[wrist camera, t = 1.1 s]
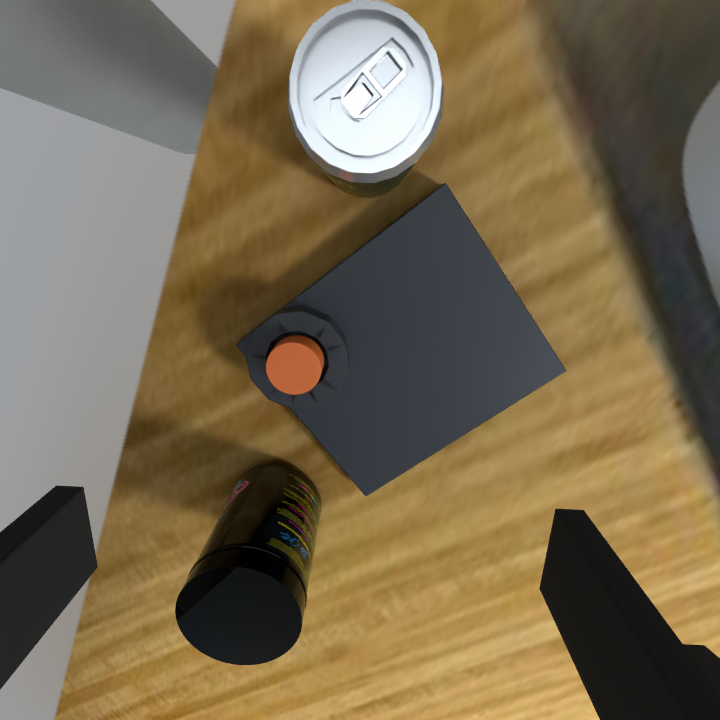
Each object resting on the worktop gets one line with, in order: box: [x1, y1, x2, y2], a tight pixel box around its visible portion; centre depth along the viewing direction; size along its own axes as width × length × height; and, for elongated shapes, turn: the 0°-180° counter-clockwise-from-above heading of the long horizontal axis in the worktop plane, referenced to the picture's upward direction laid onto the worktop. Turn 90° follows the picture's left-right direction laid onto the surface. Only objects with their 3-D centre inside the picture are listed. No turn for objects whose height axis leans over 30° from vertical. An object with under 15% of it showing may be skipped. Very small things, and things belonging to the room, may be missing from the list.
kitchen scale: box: [236, 183, 566, 496], centre depth 28 cm, size 14×16×3 cm
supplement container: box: [175, 464, 321, 665], centre depth 28 cm, size 7×7×10 cm
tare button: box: [266, 335, 324, 395], centre depth 26 cm, size 3×3×2 cm
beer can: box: [288, 0, 444, 198], centre depth 20 cm, size 5×5×12 cm
